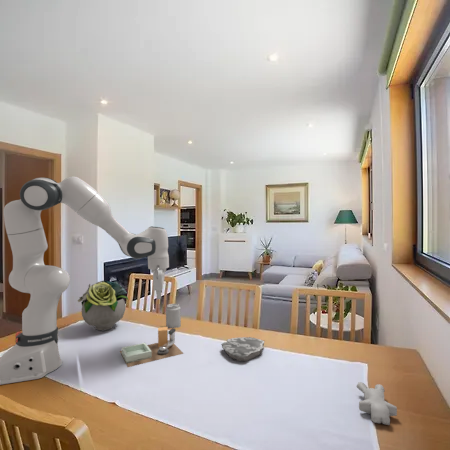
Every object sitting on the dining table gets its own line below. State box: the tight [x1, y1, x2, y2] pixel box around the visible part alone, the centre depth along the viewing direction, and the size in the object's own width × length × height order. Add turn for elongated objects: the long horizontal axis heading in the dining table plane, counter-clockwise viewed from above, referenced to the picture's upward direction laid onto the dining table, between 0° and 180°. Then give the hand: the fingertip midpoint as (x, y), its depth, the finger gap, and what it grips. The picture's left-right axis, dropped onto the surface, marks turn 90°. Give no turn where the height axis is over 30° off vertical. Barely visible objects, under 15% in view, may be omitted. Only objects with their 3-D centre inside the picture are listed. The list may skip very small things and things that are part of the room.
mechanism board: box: [119, 339, 185, 368], centre depth 120 cm, size 22×16×2 cm
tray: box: [121, 342, 152, 365], centre depth 117 cm, size 10×10×2 cm
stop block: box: [157, 326, 169, 347], centre depth 128 cm, size 4×4×7 cm
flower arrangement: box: [77, 280, 130, 331], centre depth 153 cm, size 25×25×24 cm
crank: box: [159, 328, 177, 352], centre depth 123 cm, size 11×3×6 cm, turn 161°
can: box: [165, 303, 182, 329], centre depth 152 cm, size 8×8×12 cm
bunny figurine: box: [356, 381, 398, 426], centre depth 85 cm, size 10×5×15 cm
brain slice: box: [220, 336, 265, 362], centre depth 123 cm, size 20×17×3 cm
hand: (159, 295), depth 127 cm, fingers open, 8 cm apart
